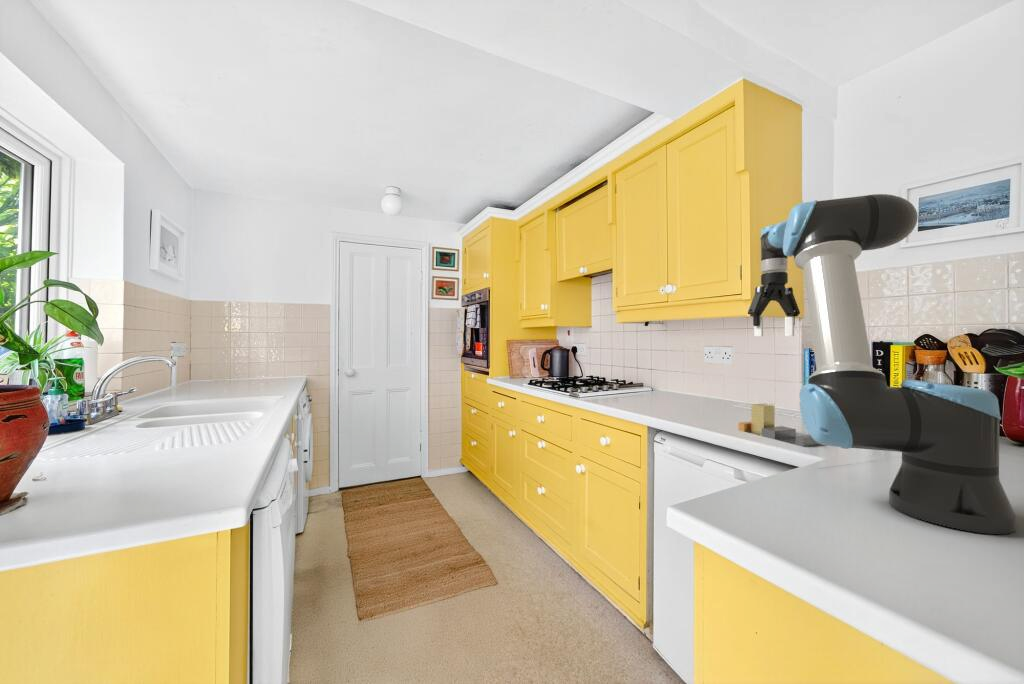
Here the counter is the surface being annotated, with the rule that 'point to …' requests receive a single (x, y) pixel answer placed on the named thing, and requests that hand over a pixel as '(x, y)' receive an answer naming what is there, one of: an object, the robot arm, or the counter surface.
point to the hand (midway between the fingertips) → (774, 336)
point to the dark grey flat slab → (781, 434)
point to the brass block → (761, 417)
